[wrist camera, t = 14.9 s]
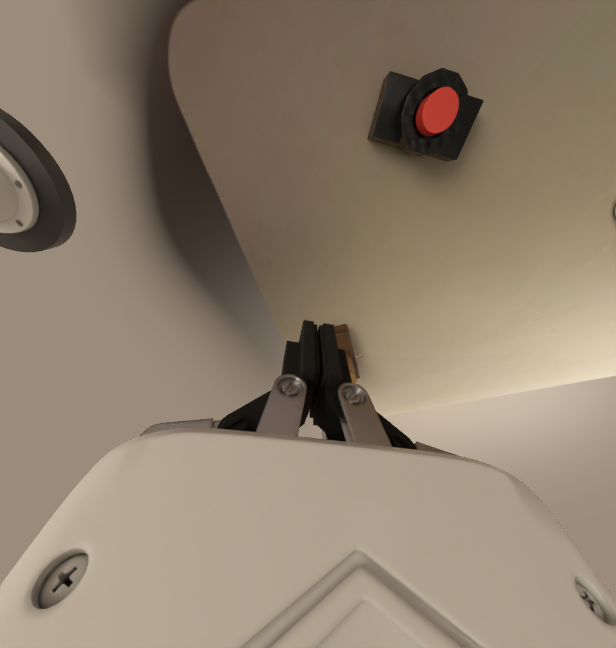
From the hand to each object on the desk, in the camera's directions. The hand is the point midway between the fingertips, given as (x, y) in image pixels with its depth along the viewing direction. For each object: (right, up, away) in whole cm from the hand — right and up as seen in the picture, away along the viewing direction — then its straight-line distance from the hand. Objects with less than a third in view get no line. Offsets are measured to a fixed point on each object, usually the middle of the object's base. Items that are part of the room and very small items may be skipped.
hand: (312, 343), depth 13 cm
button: (+12, +22, +10) cm, 27 cm away
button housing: (+12, +24, +13) cm, 29 cm away
